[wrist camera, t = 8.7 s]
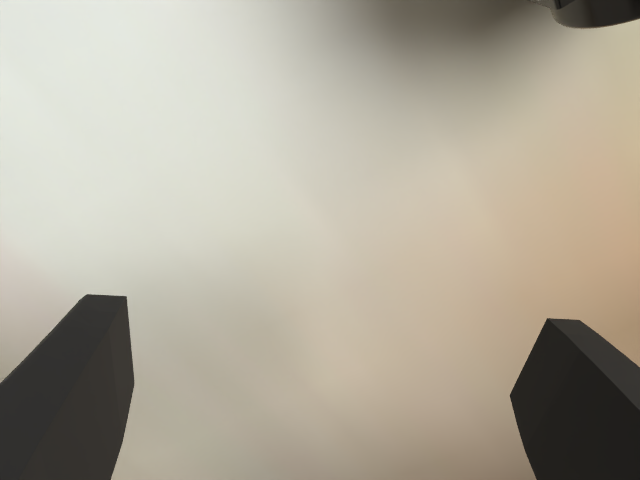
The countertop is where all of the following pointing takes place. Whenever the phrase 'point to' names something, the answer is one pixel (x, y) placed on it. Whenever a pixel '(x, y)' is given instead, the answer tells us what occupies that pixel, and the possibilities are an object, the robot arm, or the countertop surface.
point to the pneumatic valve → (592, 12)
